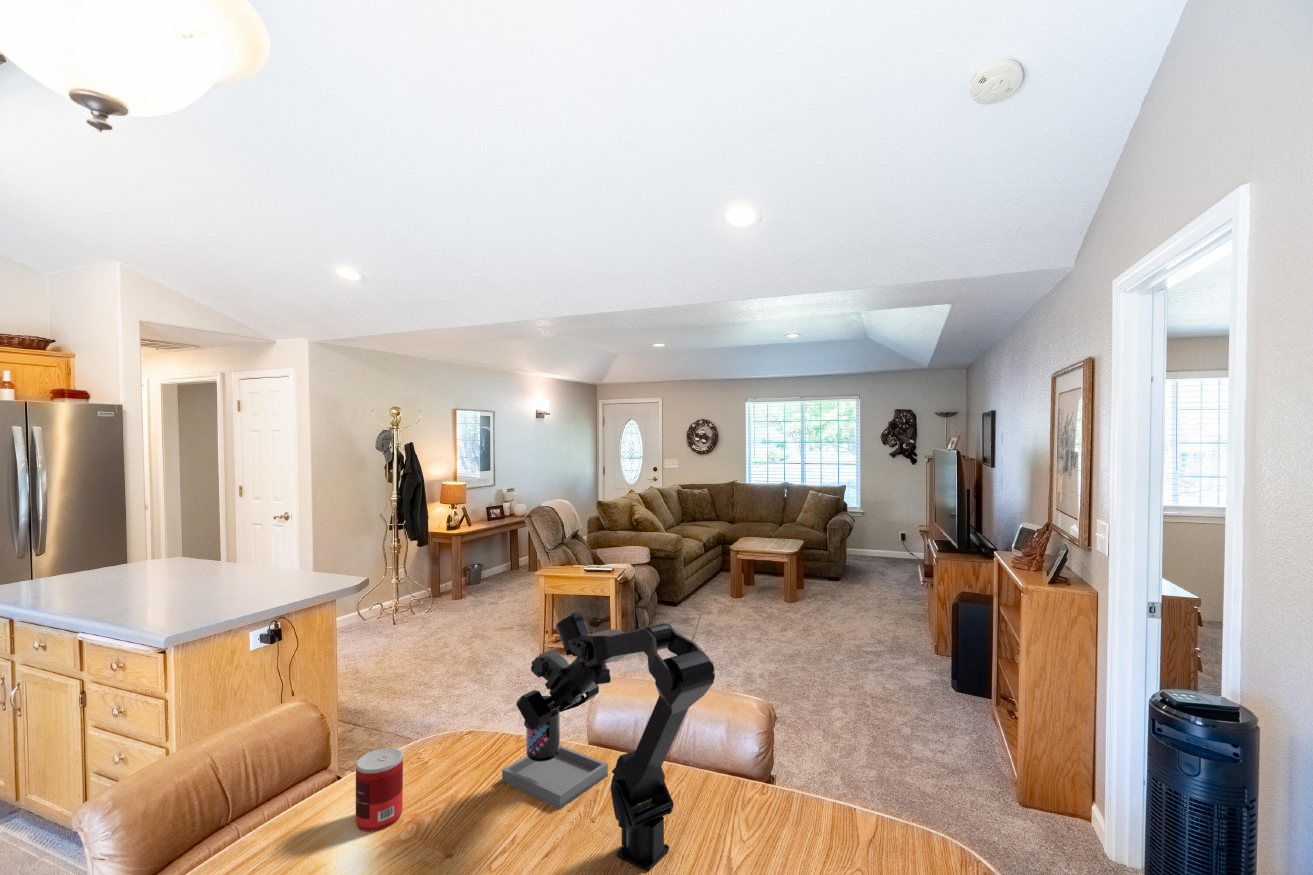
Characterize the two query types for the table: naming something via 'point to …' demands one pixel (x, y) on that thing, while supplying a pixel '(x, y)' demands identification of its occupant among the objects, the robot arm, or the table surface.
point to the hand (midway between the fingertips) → (538, 718)
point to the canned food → (379, 789)
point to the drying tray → (556, 776)
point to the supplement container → (544, 738)
